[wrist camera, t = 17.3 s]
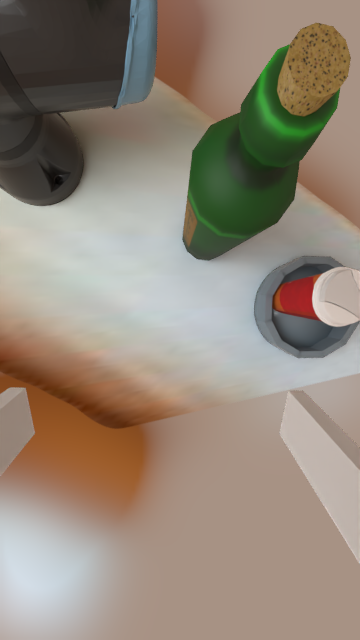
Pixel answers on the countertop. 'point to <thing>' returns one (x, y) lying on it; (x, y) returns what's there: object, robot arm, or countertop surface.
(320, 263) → the bowl
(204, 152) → the bottle
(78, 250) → the countertop surface
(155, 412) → the countertop surface
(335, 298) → the paper cup
